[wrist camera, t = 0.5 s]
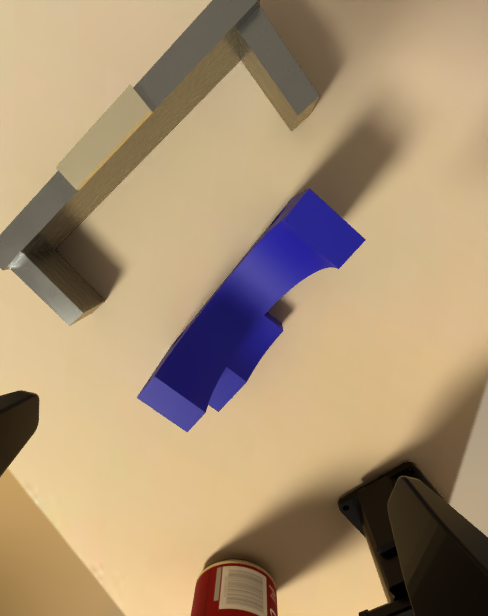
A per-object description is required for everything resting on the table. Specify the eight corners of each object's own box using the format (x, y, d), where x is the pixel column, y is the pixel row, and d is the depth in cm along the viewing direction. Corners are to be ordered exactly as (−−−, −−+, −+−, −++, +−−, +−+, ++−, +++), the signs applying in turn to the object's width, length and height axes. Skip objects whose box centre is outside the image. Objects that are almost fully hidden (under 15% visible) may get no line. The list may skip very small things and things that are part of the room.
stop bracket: (310, 114, 16) (323, 88, 13) (92, 312, 19) (60, 331, 16) (243, 17, 15) (239, -38, 11) (26, 246, 18) (-22, 252, 15)
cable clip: (223, 384, 21) (211, 448, 15) (171, 346, 20) (136, 397, 14) (348, 249, 18) (392, 263, 12) (291, 198, 17) (309, 188, 11)
